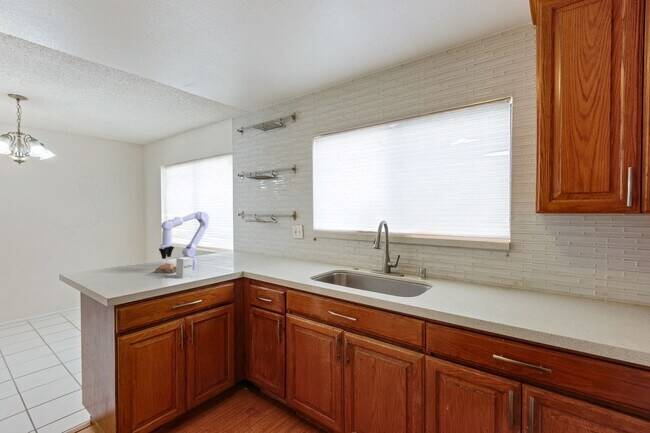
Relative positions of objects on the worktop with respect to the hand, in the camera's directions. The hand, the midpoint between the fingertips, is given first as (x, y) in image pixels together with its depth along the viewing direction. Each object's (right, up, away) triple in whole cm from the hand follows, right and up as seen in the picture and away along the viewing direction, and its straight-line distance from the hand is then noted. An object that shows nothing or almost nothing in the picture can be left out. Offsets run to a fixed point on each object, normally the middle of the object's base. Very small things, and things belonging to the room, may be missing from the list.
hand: (166, 257), depth 212 cm
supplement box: (+19, -11, -14) cm, 26 cm away
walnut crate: (+1, -10, -2) cm, 10 cm away
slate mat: (-1, -10, -5) cm, 11 cm away
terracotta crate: (+1, -9, -2) cm, 9 cm away
